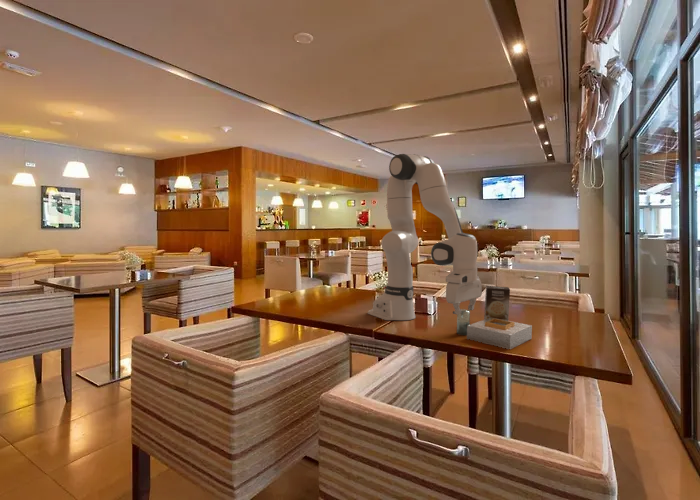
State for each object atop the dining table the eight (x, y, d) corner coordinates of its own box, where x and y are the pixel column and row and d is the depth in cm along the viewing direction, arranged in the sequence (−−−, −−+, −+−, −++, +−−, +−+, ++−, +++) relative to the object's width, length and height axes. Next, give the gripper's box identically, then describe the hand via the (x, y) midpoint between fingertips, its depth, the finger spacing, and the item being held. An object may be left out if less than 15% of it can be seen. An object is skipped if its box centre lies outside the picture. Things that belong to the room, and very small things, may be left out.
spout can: (449, 332, 149) (450, 309, 148) (456, 330, 152) (456, 307, 152) (465, 336, 144) (466, 312, 144) (471, 333, 147) (472, 310, 147)
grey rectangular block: (466, 338, 141) (467, 322, 140) (490, 329, 153) (490, 314, 153) (509, 349, 129) (510, 331, 129) (531, 338, 141) (532, 322, 141)
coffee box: (484, 326, 158) (486, 287, 157) (483, 322, 164) (485, 285, 163) (508, 328, 155) (510, 289, 154) (506, 324, 161) (508, 286, 160)
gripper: (471, 272, 155) (471, 306, 156) (442, 277, 141) (442, 314, 142) (486, 274, 150) (485, 308, 151) (458, 279, 136) (457, 317, 137)
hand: (464, 311), depth 146 cm, fingers open, 8 cm apart
